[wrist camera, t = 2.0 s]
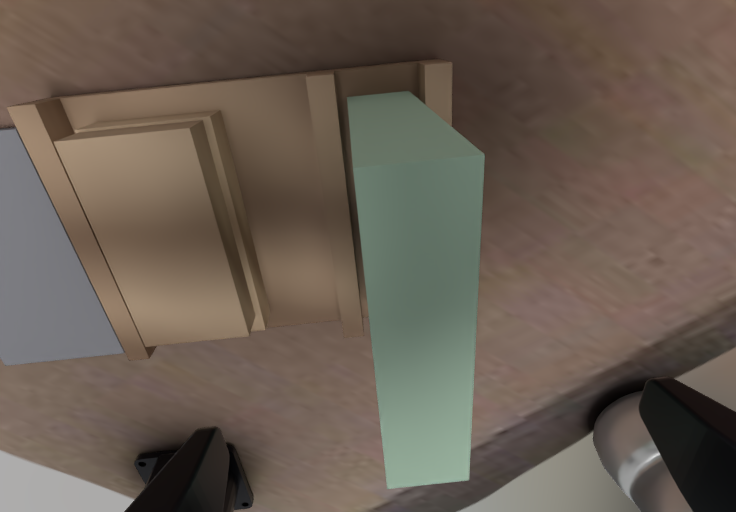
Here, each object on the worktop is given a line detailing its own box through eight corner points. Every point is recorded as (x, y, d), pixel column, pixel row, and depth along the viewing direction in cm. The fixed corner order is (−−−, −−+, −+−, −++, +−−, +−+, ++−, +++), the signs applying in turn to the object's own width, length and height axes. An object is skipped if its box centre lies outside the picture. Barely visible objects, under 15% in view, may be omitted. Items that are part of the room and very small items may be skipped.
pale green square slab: (416, 296, 21) (468, 480, 13) (368, 301, 21) (387, 488, 12) (408, 90, 17) (485, 154, 8) (346, 97, 17) (353, 167, 8)
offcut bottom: (270, 311, 21) (265, 329, 20) (174, 321, 21) (162, 340, 20) (220, 110, 16) (209, 116, 15) (95, 122, 16) (74, 130, 15)
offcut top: (255, 315, 19) (249, 336, 18) (158, 325, 19) (145, 347, 18) (202, 119, 15) (189, 128, 14) (78, 132, 15) (53, 141, 14)
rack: (439, 298, 23) (449, 326, 20) (149, 328, 23) (129, 360, 20) (437, 58, 17) (452, 62, 15) (50, 97, 17) (6, 106, 15)
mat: (129, 345, 23) (124, 353, 22) (13, 357, 23) (5, 365, 22) (25, 126, 17) (15, 129, 17) (-130, 141, 17) (-145, 145, 17)
